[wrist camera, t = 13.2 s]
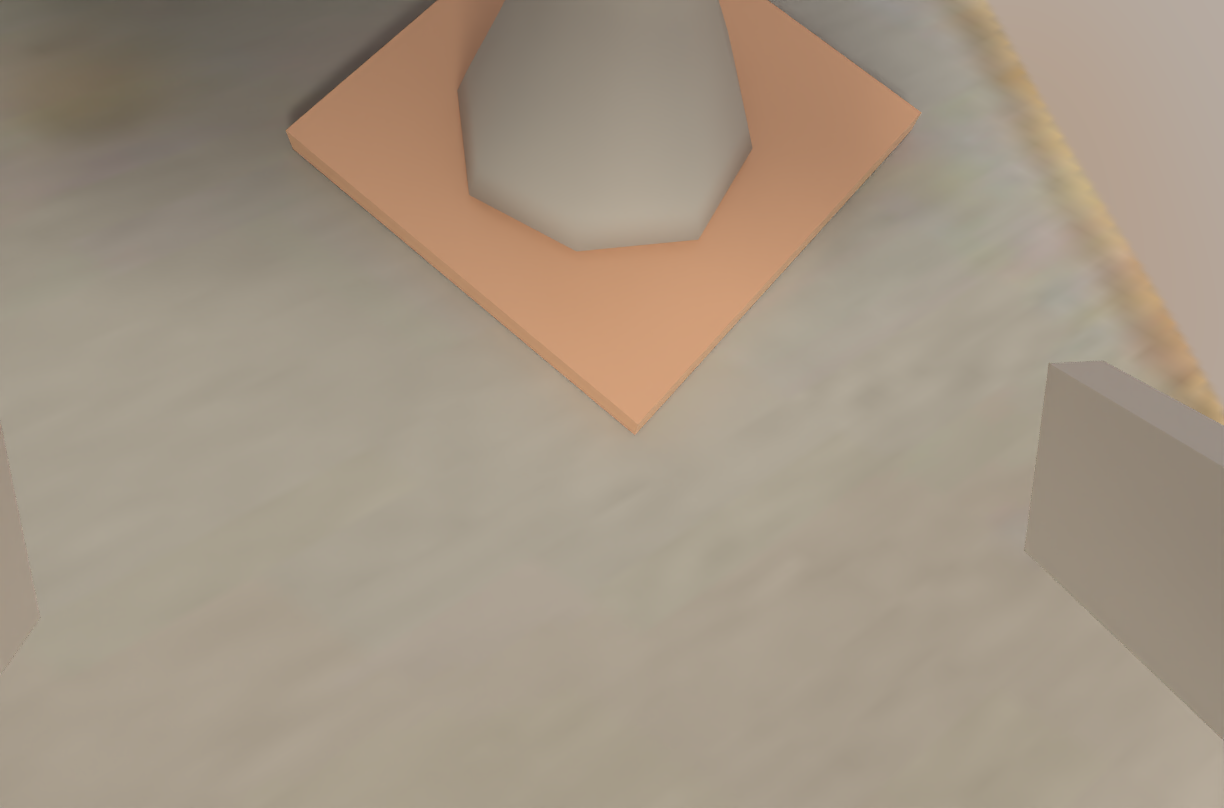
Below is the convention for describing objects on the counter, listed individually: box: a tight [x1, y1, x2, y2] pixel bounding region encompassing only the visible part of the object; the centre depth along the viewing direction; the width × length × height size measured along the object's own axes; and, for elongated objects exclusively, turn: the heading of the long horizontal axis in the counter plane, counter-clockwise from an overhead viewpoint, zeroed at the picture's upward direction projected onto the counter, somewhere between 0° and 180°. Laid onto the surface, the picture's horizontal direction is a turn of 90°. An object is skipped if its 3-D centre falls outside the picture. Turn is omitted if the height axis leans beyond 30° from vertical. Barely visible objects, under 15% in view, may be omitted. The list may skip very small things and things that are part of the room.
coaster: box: [286, 0, 921, 435], centre depth 27 cm, size 11×11×1 cm
